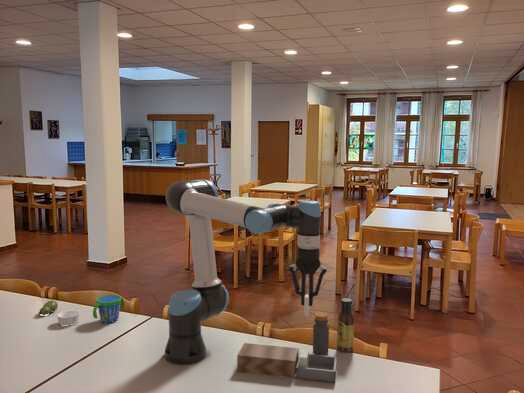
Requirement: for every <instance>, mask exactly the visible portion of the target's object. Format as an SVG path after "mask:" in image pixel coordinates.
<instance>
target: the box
mask: <svg viewBox="0 0 524 393" xmlns="http://www.w3.org/2000/svg"><path fill="white" fill-rule="evenodd" d="M300 354H301V352H299V357H300ZM337 362H338V356H334V355H333V356H331V355H315V354H314V353H309V367H308V368H305V367H299V359H298V363H297V366H296V375H295V379H296V380H303V381H313V382H321V383H322V382H323V383H331V384H336V377H337Z"/></svg>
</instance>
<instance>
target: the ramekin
mask: <svg viewBox="0 0 524 393" xmlns="http://www.w3.org/2000/svg"><path fill="white" fill-rule="evenodd" d="M56 316H57V320H58V325H59V324H61V325H71V324H75V323H77V322H78V323H79V316H80V311H78V310H73V309H71V310H64V311H61V312H59V313H57V315H56ZM78 323H77V324H78ZM75 325H76V324H75Z"/></svg>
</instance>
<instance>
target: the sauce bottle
mask: <svg viewBox="0 0 524 393" xmlns="http://www.w3.org/2000/svg"><path fill="white" fill-rule="evenodd" d="M340 304H341V309H340V312H339V313H338V316H337V325H336V326H337V327H336V328H337V332H336V333H337V334H336V344H337V345H336V348H337V350H339V351H340V352H343V353H350V352H352V351H353V349H354V343H355V342H354V341H355V340H354V336H355V316H354V313H353V312H352V305H353V300H352V299H351V298H349V297H344V298H342V299H341V301H340Z"/></svg>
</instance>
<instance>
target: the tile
mask: <svg viewBox="0 0 524 393" xmlns="http://www.w3.org/2000/svg"><path fill="white" fill-rule="evenodd" d="M300 353H301V354H300ZM300 353H299V356H300V357H299V367H305V368H308V367H309V354H310V350H309V349H301V351H300Z"/></svg>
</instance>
